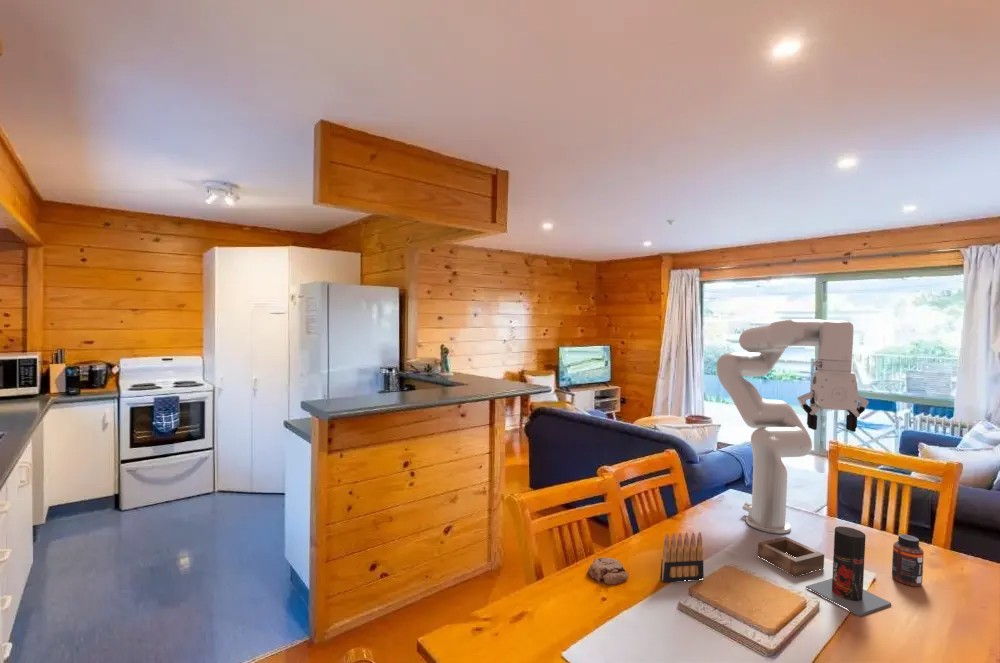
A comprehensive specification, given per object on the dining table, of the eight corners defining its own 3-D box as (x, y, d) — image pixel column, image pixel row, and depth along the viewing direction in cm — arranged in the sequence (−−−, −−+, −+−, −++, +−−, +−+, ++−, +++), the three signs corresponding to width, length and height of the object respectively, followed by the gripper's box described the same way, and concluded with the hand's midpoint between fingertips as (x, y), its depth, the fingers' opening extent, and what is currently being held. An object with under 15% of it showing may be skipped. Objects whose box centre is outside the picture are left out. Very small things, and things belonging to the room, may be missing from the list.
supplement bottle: (928, 589, 119) (930, 544, 119) (900, 585, 120) (902, 541, 120) (912, 576, 125) (914, 533, 125) (886, 573, 126) (888, 530, 126)
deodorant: (869, 599, 113) (872, 536, 112) (847, 602, 112) (850, 538, 111) (846, 585, 118) (849, 525, 118) (825, 587, 117) (828, 527, 117)
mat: (805, 588, 118) (806, 586, 118) (837, 579, 123) (837, 576, 123) (858, 617, 107) (858, 614, 107) (891, 605, 112) (891, 603, 112)
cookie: (622, 564, 128) (622, 553, 128) (632, 587, 117) (632, 575, 117) (584, 563, 128) (585, 552, 128) (591, 585, 118) (591, 573, 117)
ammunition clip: (663, 583, 119) (665, 535, 119) (660, 579, 121) (661, 531, 120) (703, 580, 121) (705, 533, 120) (699, 576, 122) (701, 530, 122)
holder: (757, 556, 133) (757, 542, 133) (784, 550, 138) (785, 536, 137) (795, 577, 123) (796, 561, 123) (823, 569, 127) (824, 554, 127)
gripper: (807, 366, 127) (804, 431, 128) (878, 369, 125) (875, 434, 126) (793, 364, 134) (790, 425, 135) (860, 366, 132) (857, 428, 133)
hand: (831, 429), depth 130 cm, fingers open, 9 cm apart
